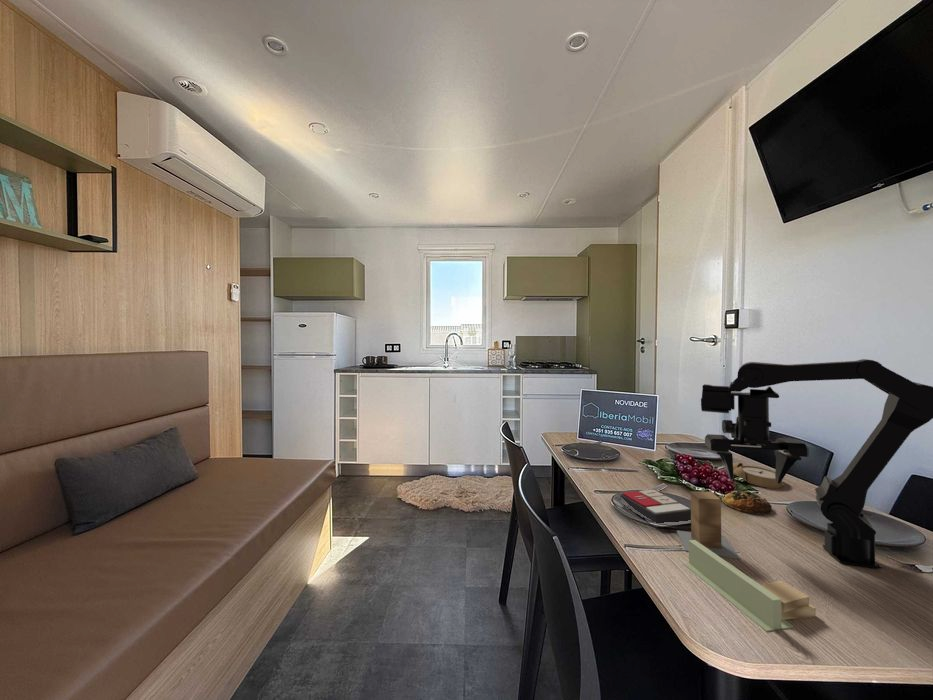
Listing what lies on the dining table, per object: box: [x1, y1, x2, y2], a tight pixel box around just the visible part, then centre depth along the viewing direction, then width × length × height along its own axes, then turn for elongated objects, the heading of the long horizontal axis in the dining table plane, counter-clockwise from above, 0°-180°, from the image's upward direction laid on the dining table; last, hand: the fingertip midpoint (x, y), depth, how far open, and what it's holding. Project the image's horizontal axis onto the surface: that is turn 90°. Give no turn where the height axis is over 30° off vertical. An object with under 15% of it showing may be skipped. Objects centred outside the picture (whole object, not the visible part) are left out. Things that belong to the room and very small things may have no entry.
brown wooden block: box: [690, 490, 722, 549], centre depth 83 cm, size 4×4×11 cm
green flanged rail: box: [683, 540, 794, 632], centre depth 67 cm, size 5×18×5 cm, turn 8°
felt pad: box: [676, 529, 741, 560], centre depth 83 cm, size 10×9×1 cm
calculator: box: [620, 489, 691, 529], centre depth 99 cm, size 11×4×15 cm
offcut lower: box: [781, 603, 817, 621], centre depth 63 cm, size 7×5×2 cm
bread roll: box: [721, 489, 773, 515], centre depth 102 cm, size 11×11×5 cm
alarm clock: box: [724, 462, 786, 489], centre depth 120 cm, size 11×5×15 cm
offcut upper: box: [760, 580, 810, 612], centre depth 62 cm, size 6×4×2 cm
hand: (754, 480), depth 86 cm, fingers open, 9 cm apart
